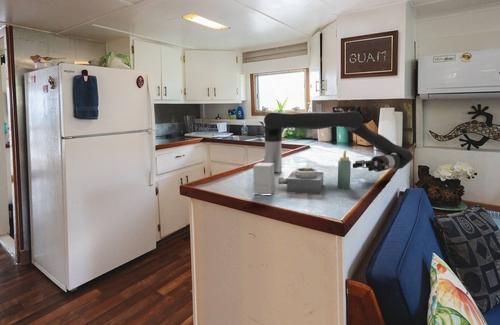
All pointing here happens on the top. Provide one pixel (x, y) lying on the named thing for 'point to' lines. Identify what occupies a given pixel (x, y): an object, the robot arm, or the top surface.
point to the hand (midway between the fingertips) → (360, 167)
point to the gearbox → (304, 181)
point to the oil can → (344, 172)
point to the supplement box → (264, 178)
